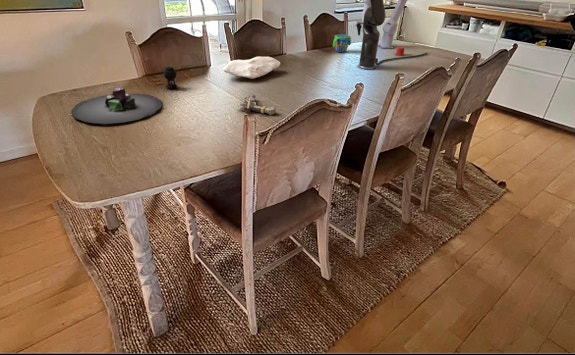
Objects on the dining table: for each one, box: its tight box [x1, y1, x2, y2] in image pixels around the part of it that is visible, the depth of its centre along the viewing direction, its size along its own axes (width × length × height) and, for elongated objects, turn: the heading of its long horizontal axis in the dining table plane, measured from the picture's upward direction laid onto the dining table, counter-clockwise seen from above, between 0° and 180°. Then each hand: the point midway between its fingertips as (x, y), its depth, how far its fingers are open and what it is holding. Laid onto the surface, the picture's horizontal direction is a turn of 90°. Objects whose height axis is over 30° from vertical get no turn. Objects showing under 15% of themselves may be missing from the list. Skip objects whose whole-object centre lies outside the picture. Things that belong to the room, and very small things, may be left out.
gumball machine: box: [161, 66, 179, 90], centre depth 173 cm, size 7×6×10 cm
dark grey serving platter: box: [70, 86, 163, 125], centre depth 150 cm, size 35×35×9 cm
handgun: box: [239, 93, 277, 116], centre depth 158 cm, size 3×18×15 cm
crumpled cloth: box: [222, 56, 281, 80], centre depth 195 cm, size 24×35×9 cm
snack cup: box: [332, 34, 352, 53], centre depth 246 cm, size 16×10×10 cm
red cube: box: [395, 46, 405, 57], centre depth 246 cm, size 5×5×5 cm
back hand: (363, 35), depth 257 cm, fingers open, 7 cm apart
